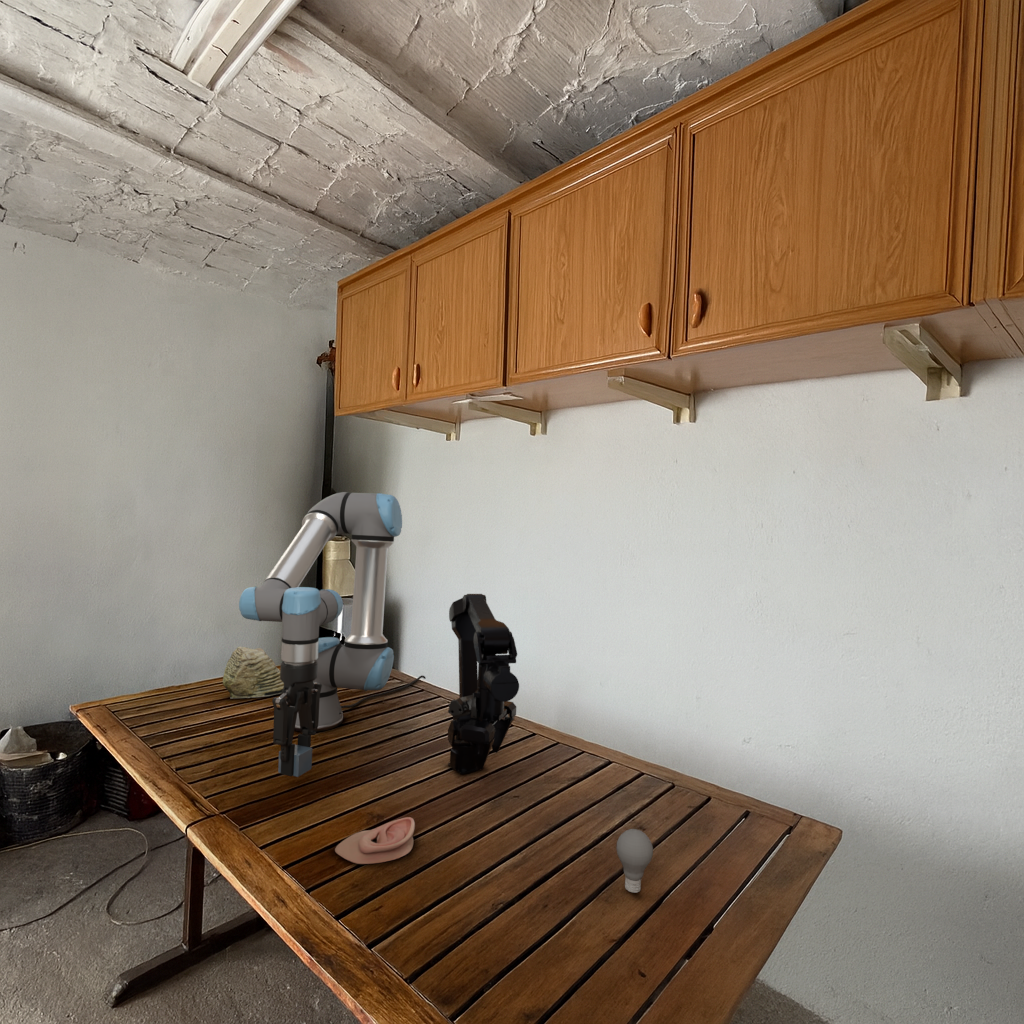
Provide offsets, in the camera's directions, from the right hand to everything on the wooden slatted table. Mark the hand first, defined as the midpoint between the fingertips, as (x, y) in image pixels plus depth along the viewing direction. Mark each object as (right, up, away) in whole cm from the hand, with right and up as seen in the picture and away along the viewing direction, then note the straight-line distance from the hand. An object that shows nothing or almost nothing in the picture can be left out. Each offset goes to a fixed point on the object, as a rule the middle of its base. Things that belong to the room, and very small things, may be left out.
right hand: (487, 760), depth 132 cm
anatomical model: (-20, -9, -17) cm, 28 cm away
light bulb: (+25, -11, -27) cm, 38 cm away
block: (-41, -3, +3) cm, 42 cm away
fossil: (-76, -5, +66) cm, 100 cm away
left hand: (-41, -3, +3) cm, 41 cm away
